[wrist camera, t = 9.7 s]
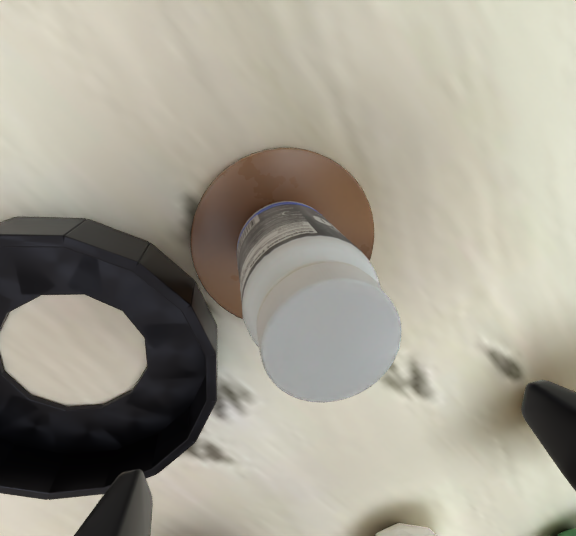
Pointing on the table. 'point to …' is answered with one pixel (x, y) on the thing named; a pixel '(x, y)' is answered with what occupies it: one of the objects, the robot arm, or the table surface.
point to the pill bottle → (313, 305)
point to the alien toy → (568, 533)
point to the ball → (406, 531)
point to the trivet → (261, 192)
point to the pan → (128, 407)
